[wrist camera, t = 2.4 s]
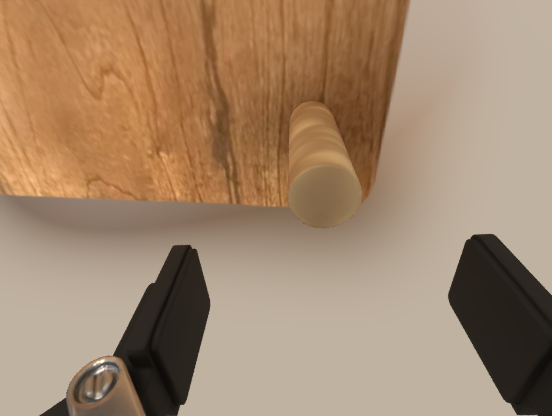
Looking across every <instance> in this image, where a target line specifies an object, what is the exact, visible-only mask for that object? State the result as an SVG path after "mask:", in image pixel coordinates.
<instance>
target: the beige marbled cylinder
mask: <svg viewBox="0 0 552 416" xmlns="http://www.w3.org/2000/svg"><path fill="white" fill-rule="evenodd" d="M361 199H362V190H361V186H360V183H359V181H358V178H357V176H356V173H355V170H354V168H353V165H352V163H351V160H350V158H349V155H348V153H347V150H346V147H345V145H344V142H343V140H342V137H341V135H340V132H339V130H338V127H337V124H336V122H335V119H334V117H333V114H332V112H331V110H330V109H329V108H328V107H327V106H326V105H325V104H323V103H321V102H318V101H307V102H304V103H302V104H300V105H299V106H297V107H296V108H295V110H294V111H293V112H292V114H291V117H290V121H289V168H288V204H289V207H290V210H291V212H292V213H293V214H294V216H295V217H296V218H297V219H298V220H299V221H301V222H302V223H304V224H306V225H309V226H312V227H317V228H329V227H334V226H337V225H340V224H342V223H344V222H346V221H347V220H348V219H350V218H351V217H352V216H353V215H354V214H355V213H356V211H357V209H358V208H359V206H360V203H361Z"/></svg>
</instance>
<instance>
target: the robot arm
mask: <svg viewBox="0 0 552 416" xmlns="http://www.w3.org/2000/svg"><path fill="white" fill-rule="evenodd" d="M448 298H449V303H450V305H451V307H452V309H453V310H454V312H455V314H456V316H457V317H458V319H459V321H460V323H461V325H462V326H463V328H464V330H465V332H466V334H467V335H468V337H469V339H470V341H471V342H472V344H473V346H474V348H475V349H476V351H477V353H478V355H479V357H480V358H481V360H482V362H483V364H484V366H485V367H486V369H487V371H488V372H489V375H490V376H491V378H492V380H493V382H494V383H495V385H496V387H497V389H498V391H499V392H500V394H501V396H502V397H503V399H504V400H505V401H506V402H508V403H511V405H512V407H513V408H514V410H515V412H516V414H517V415H538V416H552V295H551V294H550V293H549V292H548V291H547V290H546V289H545V288H544V287H543V286H542V285H541V283H540V282H539V281H538V280H537V279H536V278H535V277H534V276H533V275H532V274H531V273H530V272H529V271H528V270H527V269H526V267H524V265H523V264H522V263H521V262H520V261H519V260H518V259H517V258H516V257H515V256H514V255H513V254H512V252H511V251H510V250H509V249H508V248H507V247H506V246H505V245H504V244H503V243H502V242H501V241H500V240H499V239H498V238H497V237H496V236H495V235H493V234H479V235H473V236H472V237H471V239H468V240H467V241H466V242H465V245H464V249H463V251H462V255H461V257H460V260H459V263H458V266H457V269H456V272H455V276H454V278H453V281H452V284H451V287H450V290H449V294H448ZM209 310H210V298H209V295H208V291H207V287H206V283H205V280H204V276H203V272H202V268H201V264H200V261H199V257H198V253H197V250H196V249H192V247H191V246H190V245H175V246H173V247H172V249H171V251H170V253H169V255H168V257H167V259H166V261H165V263H164V265H163V267H162V270H161V271H160V273H159V275H158V278H157V280H156V282H155V283H151V284H150V285H149V286H148V287H147V289H146V291H145V293H144V295H143V297H142V299H141V301H140V303H139V305H138V307H137V309H136V311H135V313H134V315H133V317H132V319H131V321H130V323H129V325H128V327H127V329H126V331H125V333H124V335H123V337H122V339H121V341H120V343H119V345H118V346H117V348H116V350H115V352H114V354H113V356H105V357H100V358H98V359H96V360H94V361H91V362H90V363H89V364H87V365H86V366H84V367H83V368H82V369H81V370H80V371H79V372H78V373H77V374H76V375H75V376H74V378H73V379H72V381H71V382H70V384H69V387H68V389H67V392H66V394H67V395H66V398H65V399H63V400H62V401H61V402H59V403H57V404H56V405H54V406H53V407H52V408H50V409H49V410H47V411H46V412H44V413H43V414H41V415H40V416H177V415H178V411H179V407H180V405H184V404H185V402H186V400H187V396H188V392H189V389H190V384H191V381H192V376H193V373H194V369H195V365H196V361H197V357H198V353H199V349H200V346H201V342H202V338H203V334H204V330H205V326H206V322H207V318H208V314H209Z"/></svg>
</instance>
